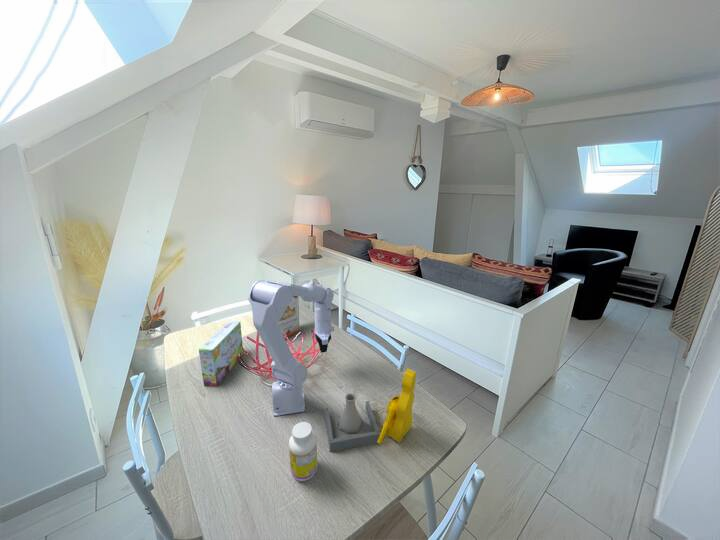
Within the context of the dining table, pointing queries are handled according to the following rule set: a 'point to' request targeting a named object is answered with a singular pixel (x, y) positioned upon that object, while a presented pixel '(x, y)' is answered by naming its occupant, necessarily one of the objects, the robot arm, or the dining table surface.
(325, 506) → the dining table surface
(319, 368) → the dining table surface
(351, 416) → the flask
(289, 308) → the cracker box
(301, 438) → the supplement bottle
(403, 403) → the figure statuette
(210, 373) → the snack box
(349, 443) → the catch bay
